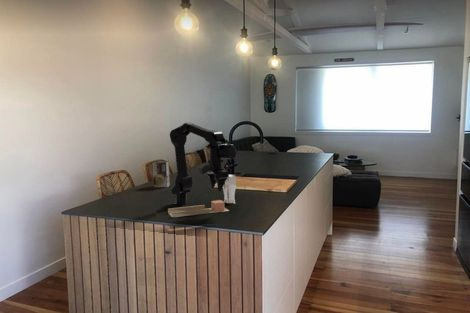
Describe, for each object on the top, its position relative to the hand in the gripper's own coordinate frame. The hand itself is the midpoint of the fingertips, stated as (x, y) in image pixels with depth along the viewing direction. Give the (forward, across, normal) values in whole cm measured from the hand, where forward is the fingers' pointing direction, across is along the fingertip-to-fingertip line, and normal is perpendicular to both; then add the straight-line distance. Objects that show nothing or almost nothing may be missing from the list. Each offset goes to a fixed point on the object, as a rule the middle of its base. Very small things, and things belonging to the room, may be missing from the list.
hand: (216, 189), depth 188 cm
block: (+10, 0, +1) cm, 10 cm away
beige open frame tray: (+11, 0, -9) cm, 14 cm away
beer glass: (+11, -13, +12) cm, 21 cm away
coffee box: (+11, -74, -11) cm, 76 cm away
